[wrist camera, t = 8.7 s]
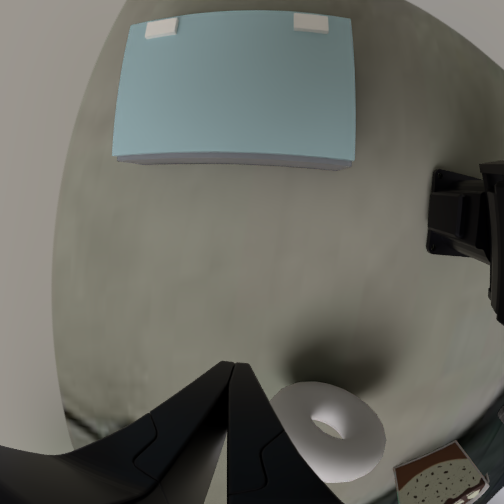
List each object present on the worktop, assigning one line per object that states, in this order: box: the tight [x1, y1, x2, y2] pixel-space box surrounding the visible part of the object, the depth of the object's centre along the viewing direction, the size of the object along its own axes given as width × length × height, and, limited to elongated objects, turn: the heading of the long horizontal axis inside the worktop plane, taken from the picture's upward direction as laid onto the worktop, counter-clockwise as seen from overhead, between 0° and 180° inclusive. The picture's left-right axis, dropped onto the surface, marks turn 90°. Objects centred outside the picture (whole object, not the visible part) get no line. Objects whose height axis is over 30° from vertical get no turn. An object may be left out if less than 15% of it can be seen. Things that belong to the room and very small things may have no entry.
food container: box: [393, 440, 490, 504], centre depth 20 cm, size 12×6×10 cm, turn 107°
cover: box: [112, 10, 356, 161], centre depth 14 cm, size 14×9×1 cm
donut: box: [269, 381, 386, 483], centre depth 18 cm, size 10×3×10 cm, turn 69°
